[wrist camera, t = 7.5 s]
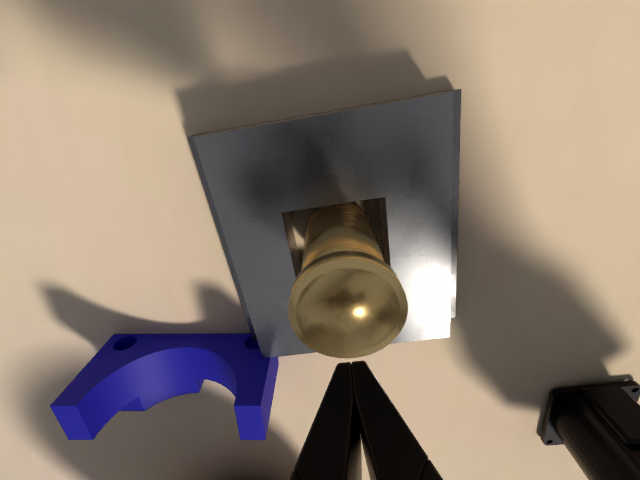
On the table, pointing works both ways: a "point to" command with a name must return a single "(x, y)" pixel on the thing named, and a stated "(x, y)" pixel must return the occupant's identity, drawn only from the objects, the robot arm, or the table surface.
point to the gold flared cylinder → (345, 287)
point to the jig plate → (335, 188)
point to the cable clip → (168, 379)
